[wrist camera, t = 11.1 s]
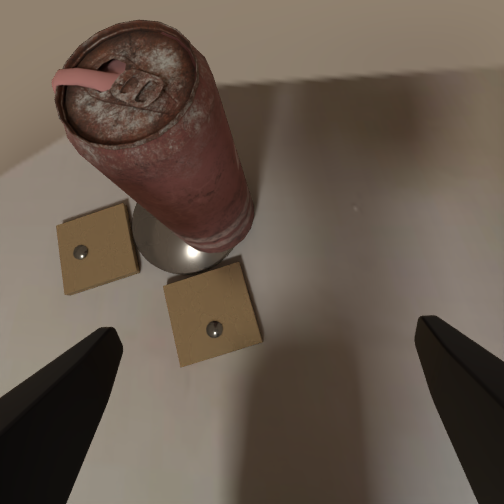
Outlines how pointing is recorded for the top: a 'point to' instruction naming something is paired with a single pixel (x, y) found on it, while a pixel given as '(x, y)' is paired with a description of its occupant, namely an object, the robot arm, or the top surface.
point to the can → (157, 130)
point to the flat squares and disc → (177, 294)
